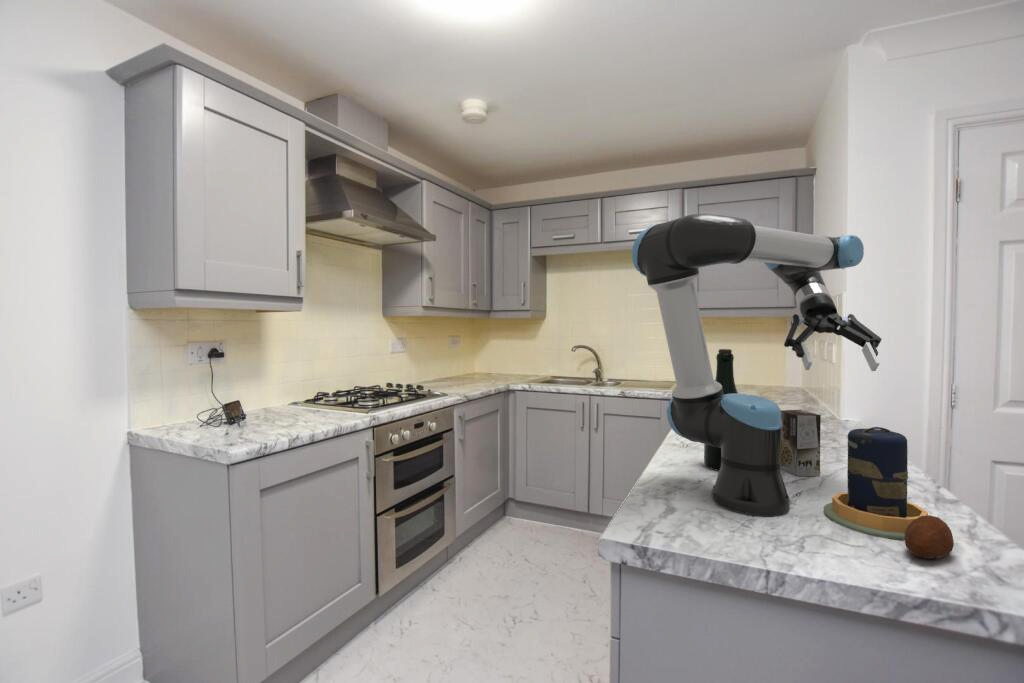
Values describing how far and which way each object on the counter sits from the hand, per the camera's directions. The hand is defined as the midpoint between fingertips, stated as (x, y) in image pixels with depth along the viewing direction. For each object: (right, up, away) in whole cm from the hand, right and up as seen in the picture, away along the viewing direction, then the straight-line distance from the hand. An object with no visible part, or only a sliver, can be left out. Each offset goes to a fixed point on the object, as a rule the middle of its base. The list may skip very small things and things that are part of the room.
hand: (841, 366), depth 109 cm
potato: (-5, -31, -28) cm, 42 cm away
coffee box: (+2, -30, +20) cm, 36 cm away
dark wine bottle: (-17, -29, +24) cm, 41 cm away
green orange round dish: (-3, -30, -14) cm, 33 cm away
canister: (-3, -29, -14) cm, 33 cm away
